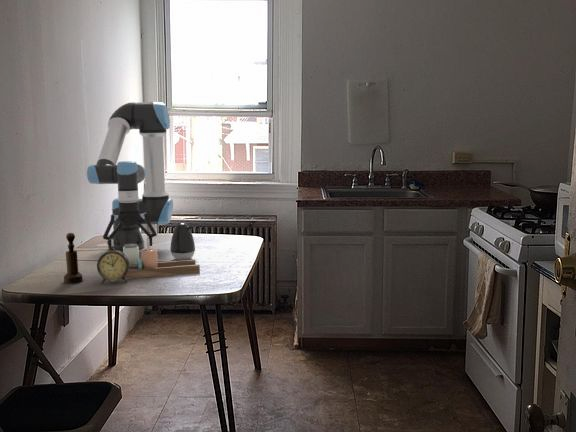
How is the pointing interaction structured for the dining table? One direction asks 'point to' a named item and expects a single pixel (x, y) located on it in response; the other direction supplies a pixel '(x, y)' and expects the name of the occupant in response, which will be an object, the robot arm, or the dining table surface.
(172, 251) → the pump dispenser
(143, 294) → the dining table surface
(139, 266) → the pusher
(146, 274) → the lane
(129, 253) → the jar
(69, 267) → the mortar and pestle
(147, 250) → the jar in lane
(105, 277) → the alarm clock
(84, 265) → the dining table surface
